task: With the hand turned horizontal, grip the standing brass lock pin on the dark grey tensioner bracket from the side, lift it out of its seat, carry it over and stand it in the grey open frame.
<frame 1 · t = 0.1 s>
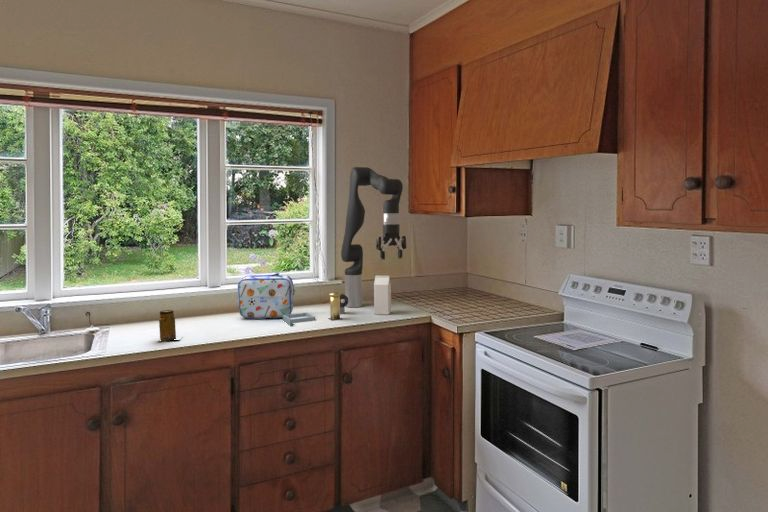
hand: (391, 258, 239), 29 cm above the worktop, tool pointing down, fingers open, 8 cm apart
lunch box: (268, 318, 256), on the worktop
milk carton: (382, 313, 262), on the worktop
condiment: (170, 340, 215), on the worktop
lock pin: (335, 318, 243), point 1 cm above the worktop, touching tensioner bracket
tensioner bracket: (338, 319, 248), on the worktop
grey open frame: (299, 322, 244), on the worktop
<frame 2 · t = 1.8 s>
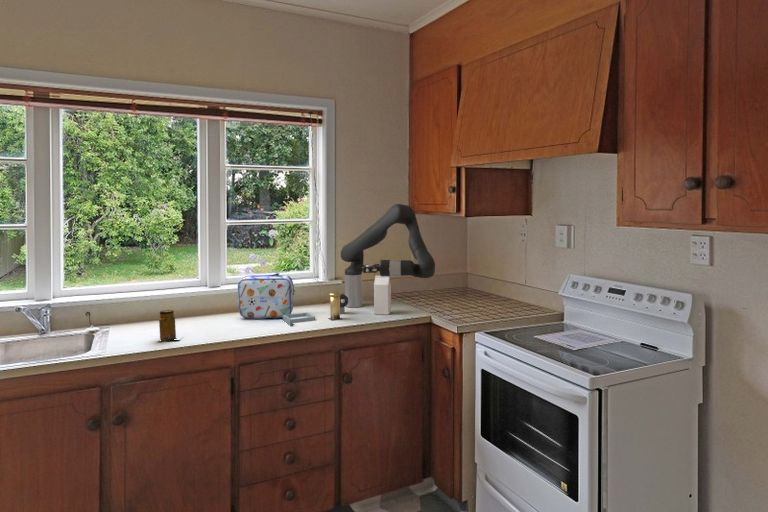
hand: (355, 268, 238), 25 cm above the worktop, tool horizontal, fingers open, 8 cm apart
nothing on the worktop moved.
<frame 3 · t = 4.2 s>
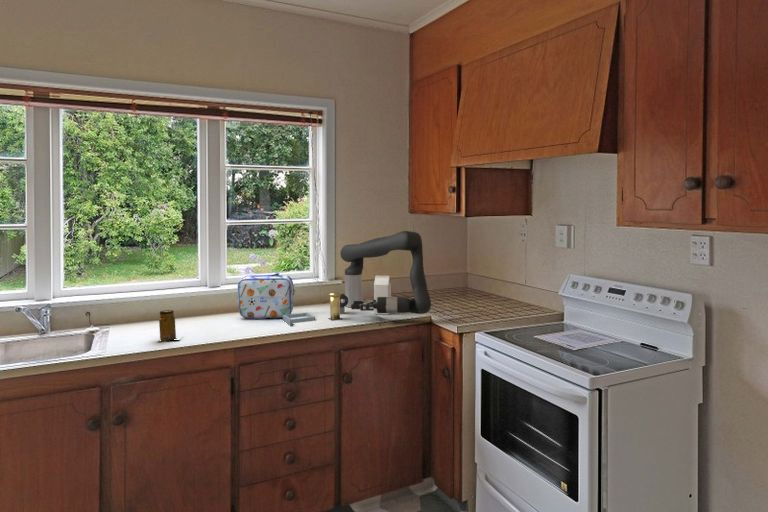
hand: (352, 305, 242), 8 cm above the worktop, tool horizontal, fingers open, 8 cm apart
nothing on the worktop moved.
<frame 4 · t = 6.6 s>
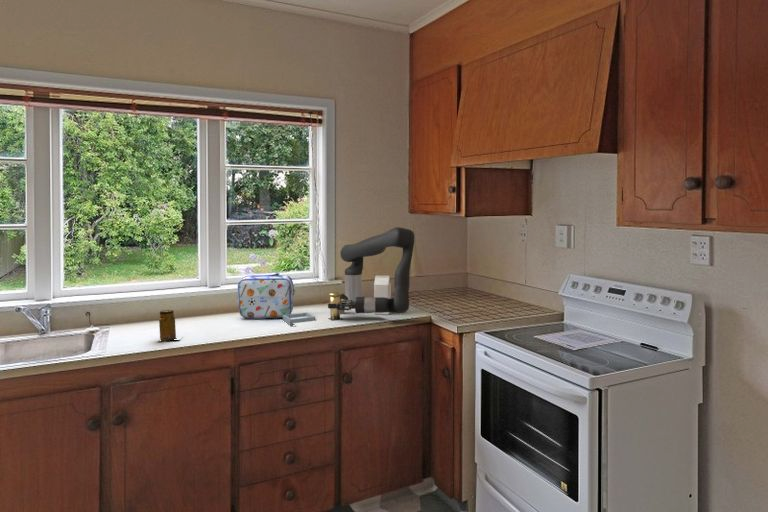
hand: (329, 305, 243), 8 cm above the worktop, tool horizontal, fingers closed on lock pin, 4 cm apart
lock pin: (335, 318, 243), point 2 cm above the worktop, touching gripper, tensioner bracket
everything else where it was.
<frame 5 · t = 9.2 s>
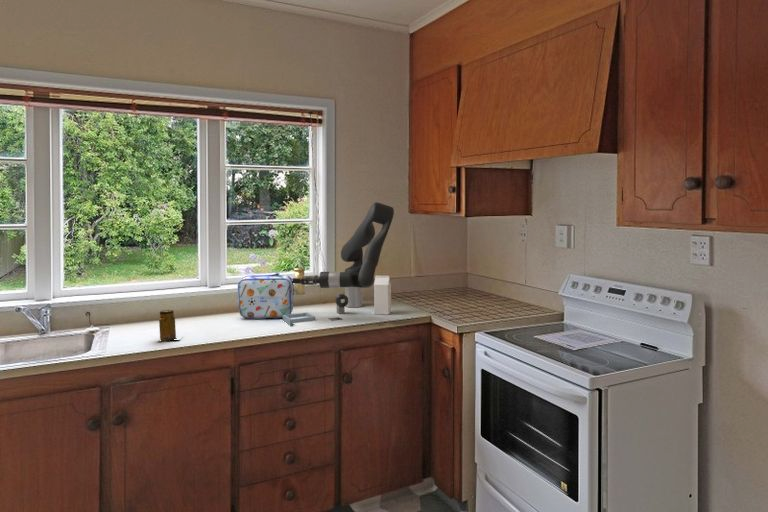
hand: (293, 280, 242), 20 cm above the worktop, tool horizontal, fingers closed on lock pin, 4 cm apart
lock pin: (300, 294, 242), point 13 cm above the worktop, touching gripper
everything else where it was.
when the fingers open (9 cm above the worktop, at t = 11.8 s): lock pin drops 1 cm, resting on grey open frame.
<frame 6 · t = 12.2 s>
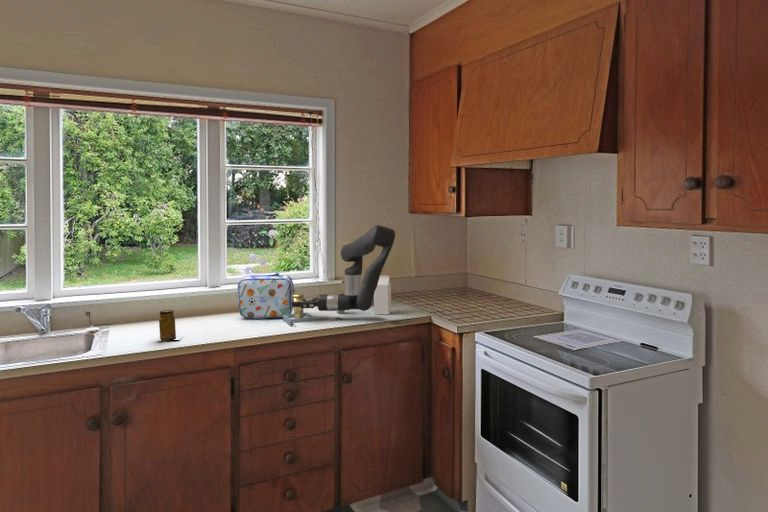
hand: (294, 302, 243), 9 cm above the worktop, tool horizontal, fingers open, 8 cm apart
lock pin: (299, 320, 244), point 1 cm above the worktop, touching grey open frame
everything else where it was.
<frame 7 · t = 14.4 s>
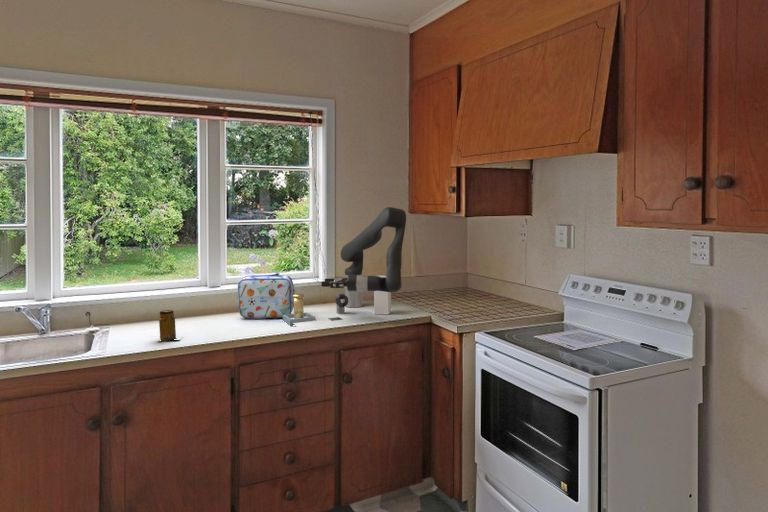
hand: (323, 282, 243), 18 cm above the worktop, tool horizontal, fingers open, 8 cm apart
nothing on the worktop moved.
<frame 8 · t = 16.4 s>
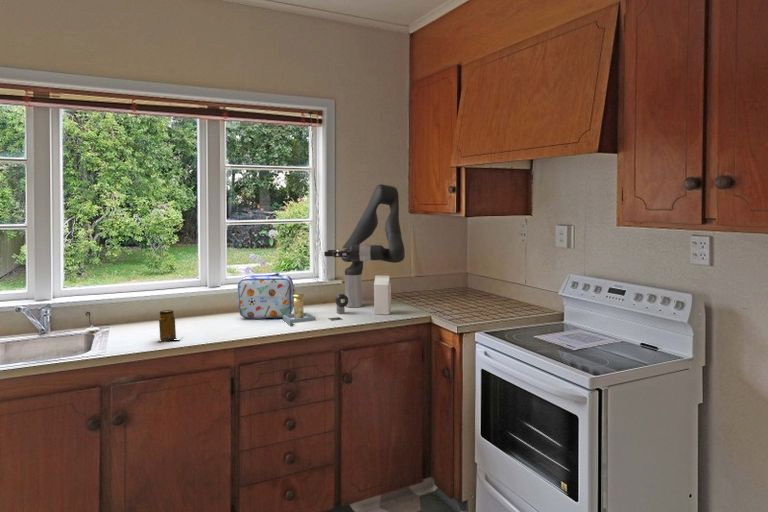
hand: (326, 253, 242), 32 cm above the worktop, tool horizontal, fingers open, 8 cm apart
nothing on the worktop moved.
at the end: lock pin inside the target area on the grey open frame (0.1 cm from its centre), point 1.0 cm above the grey open frame's base; lock pin tilted 1°; the gripper is holding nothing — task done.
